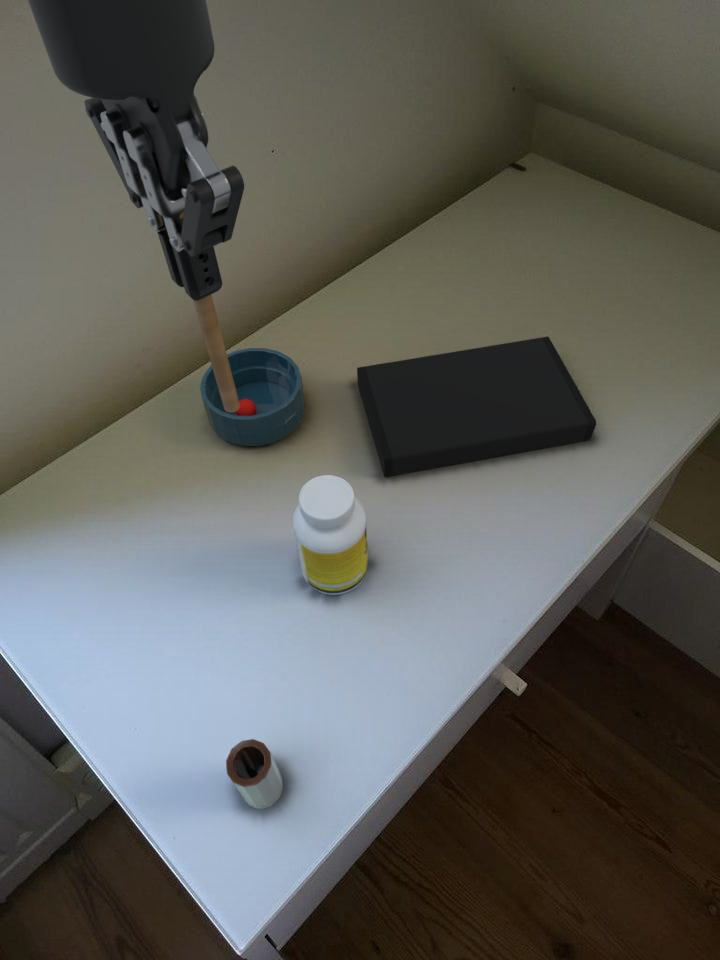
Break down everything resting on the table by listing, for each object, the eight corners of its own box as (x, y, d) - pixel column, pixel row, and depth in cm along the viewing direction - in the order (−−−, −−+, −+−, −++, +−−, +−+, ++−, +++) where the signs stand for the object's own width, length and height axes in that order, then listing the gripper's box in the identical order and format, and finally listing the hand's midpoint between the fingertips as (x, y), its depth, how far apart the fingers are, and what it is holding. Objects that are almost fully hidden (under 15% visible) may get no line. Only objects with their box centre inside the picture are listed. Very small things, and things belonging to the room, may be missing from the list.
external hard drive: (357, 385, 81) (356, 366, 79) (543, 354, 84) (548, 335, 81) (384, 478, 73) (384, 460, 71) (590, 440, 75) (597, 422, 73)
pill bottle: (373, 591, 65) (371, 522, 56) (305, 602, 64) (292, 535, 55) (362, 534, 69) (358, 461, 60) (298, 544, 68) (284, 472, 59)
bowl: (281, 460, 75) (275, 429, 71) (192, 435, 77) (182, 404, 74) (319, 391, 81) (316, 360, 77) (236, 370, 84) (229, 339, 80)
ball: (252, 427, 77) (248, 412, 75) (233, 422, 78) (229, 407, 76) (261, 412, 79) (258, 397, 77) (242, 407, 79) (239, 392, 77)
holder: (272, 815, 53) (259, 793, 48) (235, 800, 54) (218, 776, 49) (289, 774, 55) (278, 748, 50) (253, 760, 56) (238, 733, 50)
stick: (235, 414, 51) (182, 220, 38) (221, 410, 51) (164, 216, 39) (243, 403, 52) (193, 208, 39) (228, 399, 52) (175, 205, 39)
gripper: (-37, -67, 31) (96, 261, 45) (92, 16, 24) (201, 372, 38) (114, -104, 34) (196, 217, 48) (267, -37, 27) (311, 314, 41)
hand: (198, 285), depth 43 cm, fingers closed on stick, 1 cm apart
